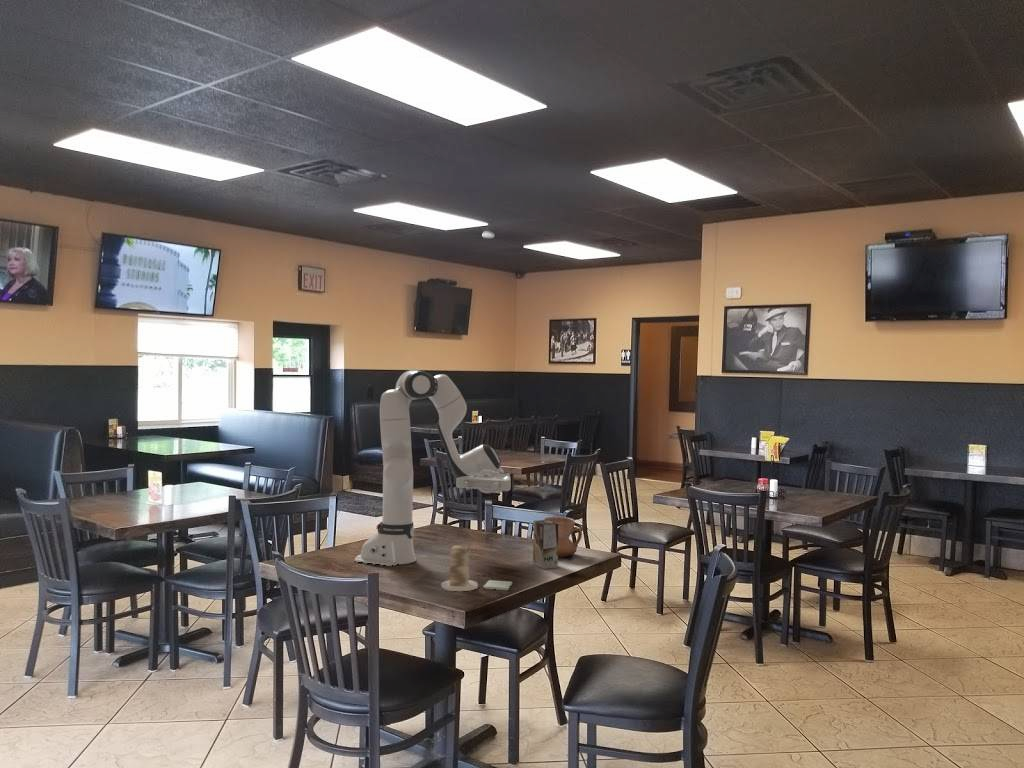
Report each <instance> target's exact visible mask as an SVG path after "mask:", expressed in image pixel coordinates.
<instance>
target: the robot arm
mask: <svg viewBox="0 0 1024 768" xmlns="http://www.w3.org/2000/svg"><path fill="white" fill-rule="evenodd" d="M423 399H429V400H430V402H432V403H433V405H434V407H435V409H436V411H437V413H438V422H437V424H436V425H437V426H436V428H437V432H438V435H439V438H440V440H441V444H442V446H443V449H444V451H445V454H446V456H447V459H448V462H449V465H450V468H451V471H452V475H453V476H454V478H455V479H456V481H455V485H456V486H455V487H456V488H458V489H477V490H478V491H480V492H481V493H484V494H491V493H497V492H509V491H510V490H511V487H512V486H511V485H512V483H511V481H512V480H511V474H510V473H507V472H505V471H504V469H503V468H502V467H501V462H502V461H501V459H500V457H499V454H498V452H497V451H496V449H495V448H494V447H493V446H491V445H489V444H486V443H482V444H480V445H478V446H476V447H475V448H472V449H471V450H468V451H467V452H465V453H463V454H459V452H458V448H457V446H456V443H455V441H454V438H453V432H454V430H456V428H457V427H458V426H459V424H461V423H462V421H463V420H464V418H465V416H466V414H467V409H468V407H467V406H468V405H467V403H466V401H465V398H464V397H463V395H462V393H461V391H460V390H459V388H458V387H457V385H456V384H455V383H454V382H453V380H452V379H451V378H450V377H449V376H448V375H447V374H444V373H442V374H441V373H440V374H436V375H434V376H433V375H431V374H430V373H428V372H426V371H425V370H419V369H418V370H417V369H411V370H406V371H403V372H402V373H401V374H400V375H399V376H397V379H396V381H395V383H394V385H393V387H392V389H387V390H386V391H384V392H383V393H382V394H381V396H380V403H379V425H380V441H381V443H380V444H381V453H382V466H383V467H382V469H383V471H382V520H381V522H379V523H378V524H377V525H376V526H375V528H376V530H377V532H376V533H375V534H373V535H372V536H371V537H369V538H368V539H367V540H366V541H365V542H364V543H363V544H362V547H361V552H360V554H358V555H356V557H355V558H354V562H355V561H356V562H355V563H358V562H363V563H362V564H367V563H373V564H372V565H375V564H380V565H379V566H383V565H386V566H385V567H392V565H393V566H397V564H399V565H407V564H411V563H414V562H416V561H417V558H416V554H415V548H414V540H413V538H414V534H415V531H414V530H415V529H414V527H415V526H414V521H413V510H414V509H413V507H414V506H413V503H414V502H413V501H414V500H413V499H414V498H413V497H414V467H413V466H414V465H413V464H414V463H413V453H412V450H413V449H412V434H411V432H412V431H411V416H410V405H411V402H412V401H414V400H423Z"/></svg>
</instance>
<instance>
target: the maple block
mask: <svg viewBox="0 0 1024 768" xmlns="http://www.w3.org/2000/svg"><path fill="white" fill-rule="evenodd" d="M449 553H450V556H449V557H450V561H449V562H450V564H449V565H450V567H449V573H450V574H449V580H450V586H463V587H465V586H466V585H467V584H468V583H469V580H470V546H469V545H453V546H452V547H451V548H450V552H449Z"/></svg>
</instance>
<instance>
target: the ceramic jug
mask: <svg viewBox="0 0 1024 768" xmlns="http://www.w3.org/2000/svg"><path fill="white" fill-rule="evenodd" d="M542 520H549V521H552V522H555V523H557V524H558V558H559V557H561V558H567V557H568V558H569V557H571V556H573V555H574V554H576V552H577V550H578V549H577V548H578V545H579V543H580V542H581V540H582V536H583V531H582V529H581V528H580V527H579V526H575V523H576V521H575V519H574V518H571V517H568V516H567V517H565V516H547V517H544V518H543V519H542ZM575 531H577V533H578V534H577V535H578V536H577V538H576V539H575V543H574V542H573V541H572V540H571V539H570V537H571V534H572V533H573V532H575Z"/></svg>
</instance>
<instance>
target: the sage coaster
mask: <svg viewBox="0 0 1024 768" xmlns="http://www.w3.org/2000/svg"><path fill="white" fill-rule="evenodd" d="M510 586H511V587H512V586H513V581H508V580H506V581H505V580H494V579H493V580H491V579H489V580H488V581H487V582H486V583H485V584H484V585H483V588H485V589H484V590H493V589H496V590H495V591H497V590H498V591H508V590H510V588H511V587H510Z"/></svg>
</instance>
